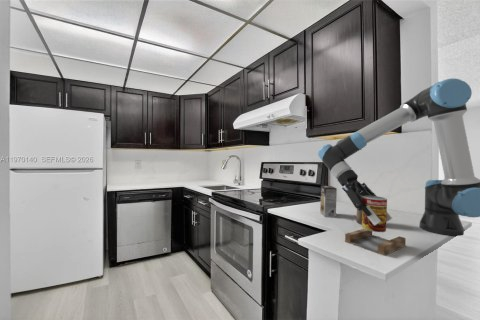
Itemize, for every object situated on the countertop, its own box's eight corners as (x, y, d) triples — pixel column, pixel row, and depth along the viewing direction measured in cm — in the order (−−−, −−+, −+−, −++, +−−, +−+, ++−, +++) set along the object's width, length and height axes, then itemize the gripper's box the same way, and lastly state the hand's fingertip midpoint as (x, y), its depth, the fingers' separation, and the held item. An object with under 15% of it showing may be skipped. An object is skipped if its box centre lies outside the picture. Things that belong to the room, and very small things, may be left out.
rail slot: (367, 234, 95) (367, 227, 95) (405, 245, 83) (405, 237, 83) (345, 241, 87) (345, 233, 87) (384, 255, 75) (384, 246, 75)
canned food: (369, 232, 81) (370, 199, 81) (357, 225, 89) (358, 195, 89) (390, 232, 81) (392, 199, 81) (377, 225, 89) (378, 195, 89)
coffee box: (319, 212, 132) (320, 185, 131) (331, 213, 131) (331, 185, 131) (324, 216, 122) (324, 187, 122) (336, 217, 122) (337, 187, 122)
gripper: (352, 179, 103) (389, 223, 90) (323, 180, 92) (360, 231, 79) (364, 168, 99) (404, 213, 85) (335, 168, 88) (377, 220, 74)
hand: (383, 221), depth 82 cm, fingers closed on canned food, 8 cm apart
